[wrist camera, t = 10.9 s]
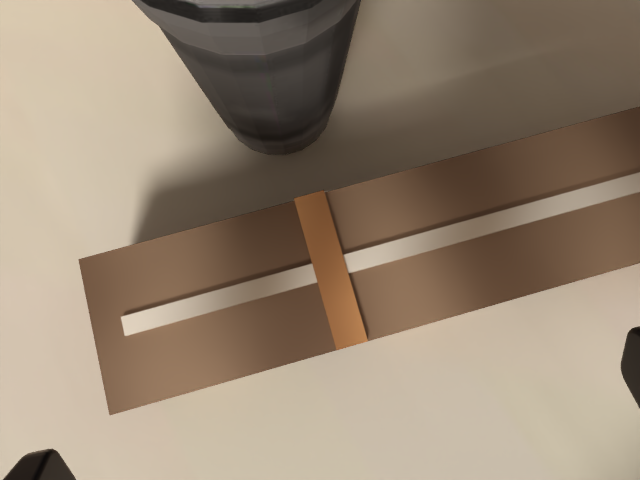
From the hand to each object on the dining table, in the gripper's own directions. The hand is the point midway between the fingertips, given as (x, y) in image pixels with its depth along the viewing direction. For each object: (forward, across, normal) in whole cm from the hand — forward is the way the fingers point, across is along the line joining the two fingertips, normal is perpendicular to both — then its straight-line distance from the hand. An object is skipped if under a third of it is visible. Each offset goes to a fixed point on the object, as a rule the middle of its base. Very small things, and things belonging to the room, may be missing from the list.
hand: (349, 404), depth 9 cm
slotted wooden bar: (+12, -6, +6) cm, 14 cm away
